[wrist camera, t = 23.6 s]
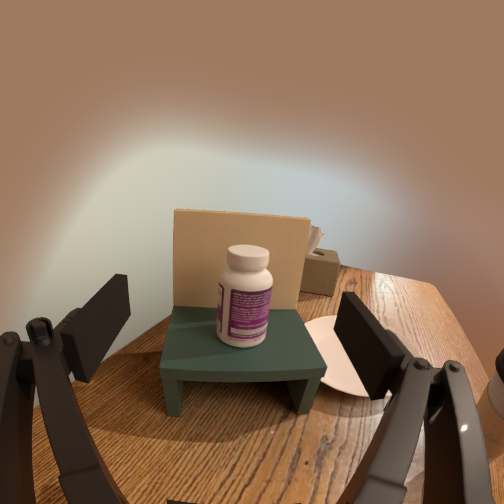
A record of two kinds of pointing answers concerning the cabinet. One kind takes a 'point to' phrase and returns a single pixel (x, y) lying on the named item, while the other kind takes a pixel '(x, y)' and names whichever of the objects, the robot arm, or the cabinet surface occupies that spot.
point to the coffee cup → (493, 411)
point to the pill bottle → (244, 296)
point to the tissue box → (319, 266)
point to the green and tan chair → (206, 302)
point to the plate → (342, 356)
